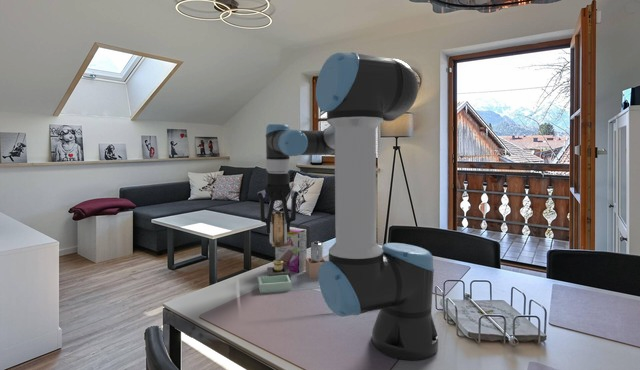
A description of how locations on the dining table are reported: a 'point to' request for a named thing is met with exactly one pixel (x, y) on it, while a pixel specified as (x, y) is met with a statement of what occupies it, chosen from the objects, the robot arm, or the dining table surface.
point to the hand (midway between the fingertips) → (278, 241)
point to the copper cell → (278, 229)
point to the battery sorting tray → (290, 279)
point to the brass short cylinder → (278, 265)
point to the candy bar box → (293, 250)
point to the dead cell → (316, 252)
